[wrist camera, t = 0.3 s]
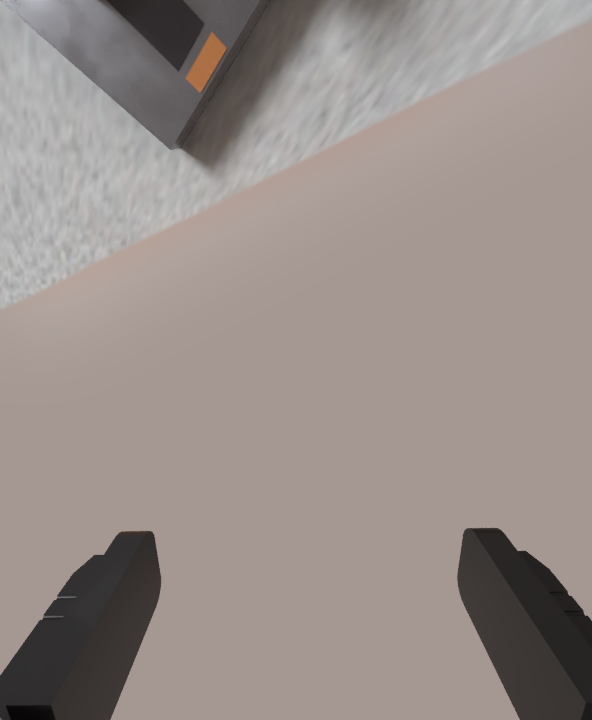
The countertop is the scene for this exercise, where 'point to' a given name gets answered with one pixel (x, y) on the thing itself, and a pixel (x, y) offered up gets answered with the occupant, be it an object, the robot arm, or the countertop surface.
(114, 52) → the breaker panel
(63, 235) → the countertop surface
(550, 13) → the countertop surface
